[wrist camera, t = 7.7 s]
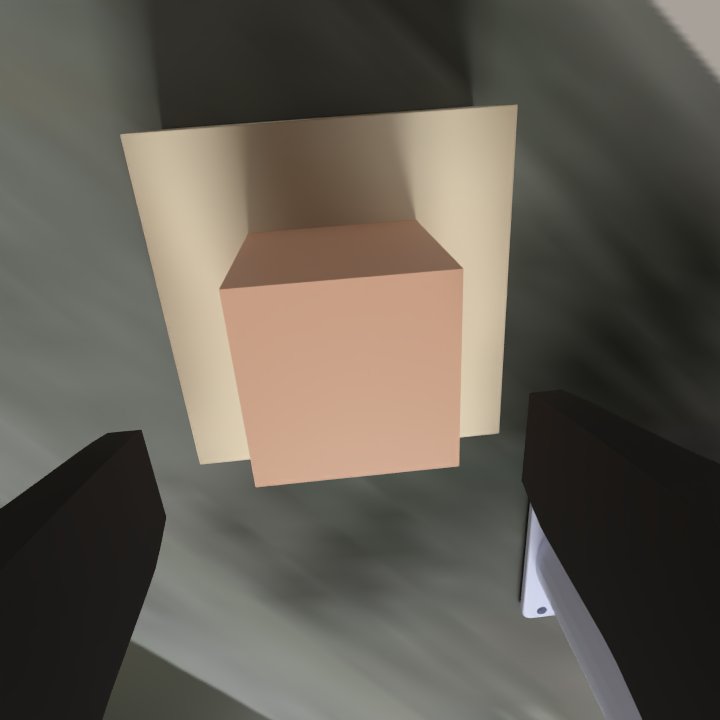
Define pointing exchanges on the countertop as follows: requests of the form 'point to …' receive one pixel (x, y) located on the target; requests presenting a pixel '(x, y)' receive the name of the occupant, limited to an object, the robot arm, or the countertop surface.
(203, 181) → the base
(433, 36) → the countertop surface
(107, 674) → the robot arm
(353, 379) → the block
